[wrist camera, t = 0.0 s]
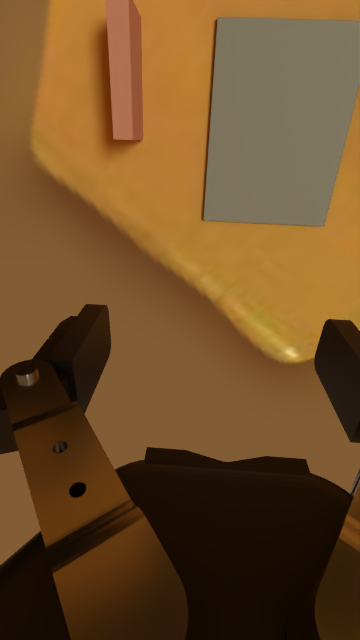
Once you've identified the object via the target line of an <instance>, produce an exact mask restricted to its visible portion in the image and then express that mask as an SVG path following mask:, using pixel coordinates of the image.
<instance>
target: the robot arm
mask: <svg viewBox="0 0 360 640" xmlns="http://www.w3.org/2000/svg"><path fill="white" fill-rule="evenodd" d="M110 350H111V335H110V324H109V311H108V307H107V305H94V304H86V305H85V306H84V308H83V309H82V310H81V312H80V313H79V315H78V316H70V317H69V318H67V319H66V320H64V321H62V322H61V323H60V324H59V325H58V326H57V328H56V329H55V330H54V332H53V333H52V334H51V335H50V337H49V339H47V340H46V342H45V343H44V344H43V346H42V347H41V348H40V350H39V351H38V352H37V353H36V355H35V356H34V357H33V359H32V360H26V361H22V362H19V363H16V364H14V365H12V366H10V367H9V368H7V369H6V370H5V371H4V372H3V373H2V375H1V377H0V454H4V453H9V452H14V451H19V454H20V458H21V461H22V465H23V468H24V472H25V476H26V479H27V483H28V486H29V490H30V493H31V497H32V501H33V504H34V507H35V511H36V515H37V519H38V522H39V526H40V529H41V531H40V532H38V533H37V534H36V535H35V536H34V537H33V538H32V539H30V540H29V541H28V542H27V543H26V544H25V545H23V546H22V547H21V548H20V549H19V550H18V551H17V552H15V553H14V554H13V555H12V556H11V557H10V558H8V559H7V560H6V561H5V562H4V563H3V564H1V565H0V640H360V469H359V471H358V474H357V476H356V478H355V481H354V483H353V486H352V488H351V490H350V492H349V493H348V492H347V491H345V490H344V489H342V488H341V487H339V486H338V485H336V484H334V483H332V482H330V481H328V480H327V479H325V478H322V477H320V476H317V475H314V474H312V473H310V471H309V468H308V465H307V461H306V459H297V458H283V457H270V456H264V457H258V458H252V459H246V460H239V461H233V462H223V461H219V460H216V459H213V458H210V457H206V456H203V455H200V454H197V453H193V452H190V451H187V450H177V449H164V448H151V447H147V450H146V455H145V460H140V461H136V462H132V463H129V464H126V465H124V466H121V467H119V468H117V469H114V468H113V466H112V464H111V462H110V461H109V458H108V457H107V455H106V453H105V451H104V449H103V447H102V446H101V444H100V442H99V440H98V438H97V436H96V435H95V433H94V431H93V429H92V427H91V425H90V424H89V422H88V420H87V418H86V416H85V412H86V409H87V407H88V405H89V402H90V400H91V398H92V395H93V393H94V390H95V388H96V386H97V384H98V381H99V379H100V376H101V374H102V372H103V370H104V367H105V365H106V362H107V360H108V358H109V355H110ZM314 361H315V370H316V372H317V375H318V376H319V379H320V381H321V383H322V385H323V387H324V389H325V391H326V393H327V395H328V397H329V399H330V401H331V403H332V405H333V407H334V409H335V411H336V413H337V415H338V418H339V420H340V422H341V424H342V426H343V428H344V430H345V432H346V434H347V436H348V438H349V440H350V442H355V443H360V331H359V330H358V328H357V327H356V326H355V325H354V324H353V322H352V321H350V320H335V319H328V320H327V321H326V322H325V324H324V327H323V330H322V333H321V337H320V340H319V344H318V347H317V350H316V354H315V360H314Z"/></svg>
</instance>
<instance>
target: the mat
mask: <svg viewBox="0 0 360 640" xmlns="http://www.w3.org/2000/svg"><path fill="white" fill-rule="evenodd" d="M359 85H360V21H344V20H309V19H274V18H240V17H218V19H217V33H216V47H215V62H214V76H213V90H212V104H211V119H210V133H209V147H208V161H207V176H206V190H205V204H204V218H203V220H208V221H227V222H247V223H267V224H287V225H306V226H324V225H325V221H326V217H327V213H328V209H329V205H330V201H331V197H332V193H333V189H334V185H335V181H336V177H337V173H338V169H339V165H340V161H341V157H342V153H343V149H344V145H345V141H346V137H347V133H348V129H349V125H350V121H351V117H352V113H353V109H354V105H355V101H356V97H357V93H358V89H359Z"/></svg>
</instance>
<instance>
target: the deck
mask: <svg viewBox="0 0 360 640" xmlns="http://www.w3.org/2000/svg"><path fill="white" fill-rule="evenodd" d="M106 14H107V32H108V50H109V68H110V86H111V104H112V122H113V139H118V140H143V109H142V50H141V16H140V14H139V12H138V10H137V8H136V6H135V4H134V2H133V0H106Z"/></svg>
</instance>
